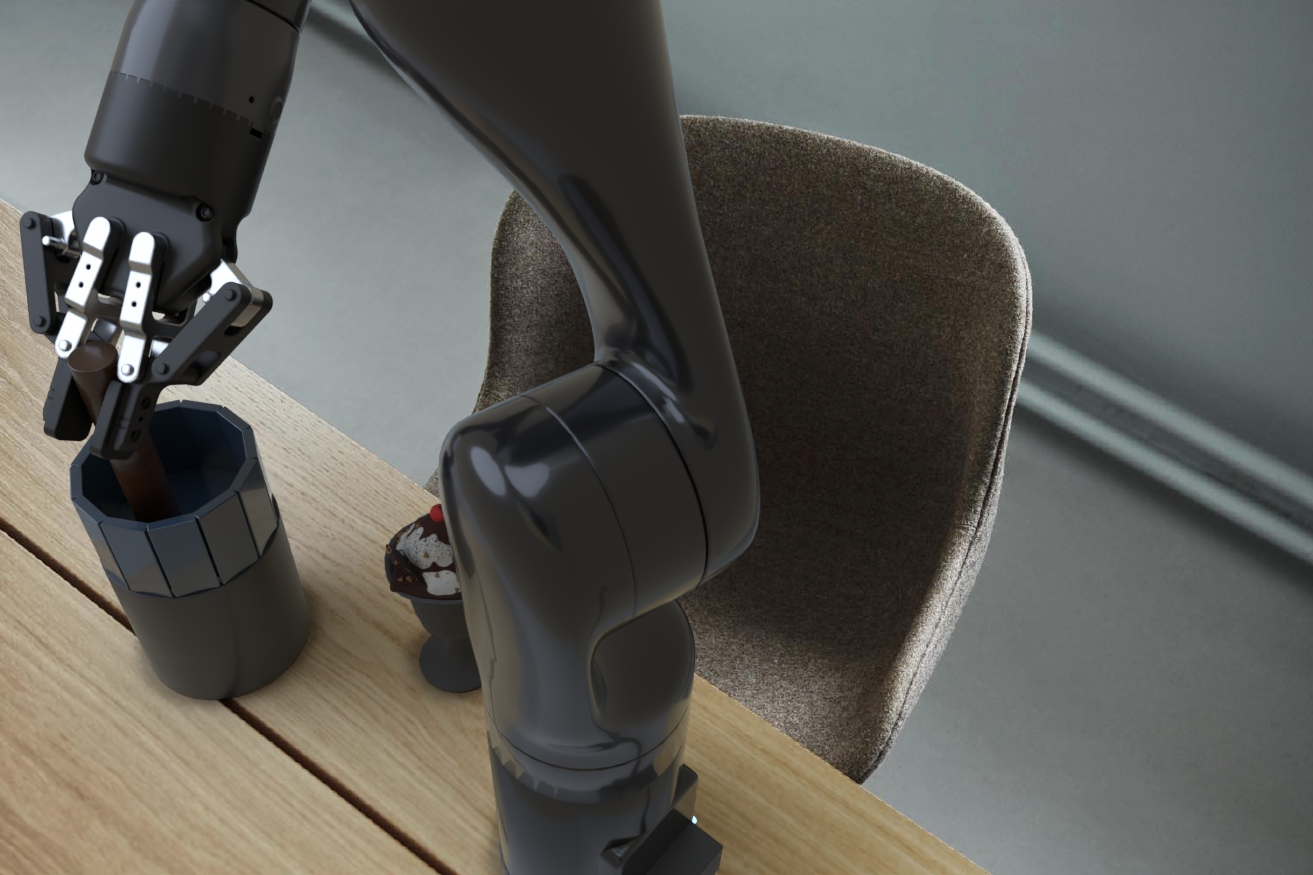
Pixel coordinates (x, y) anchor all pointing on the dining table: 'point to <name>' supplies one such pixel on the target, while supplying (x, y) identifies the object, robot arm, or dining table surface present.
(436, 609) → the sundae
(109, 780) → the dining table surface
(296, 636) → the stand
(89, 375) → the stick
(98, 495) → the bowl
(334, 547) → the dining table surface
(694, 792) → the robot arm
